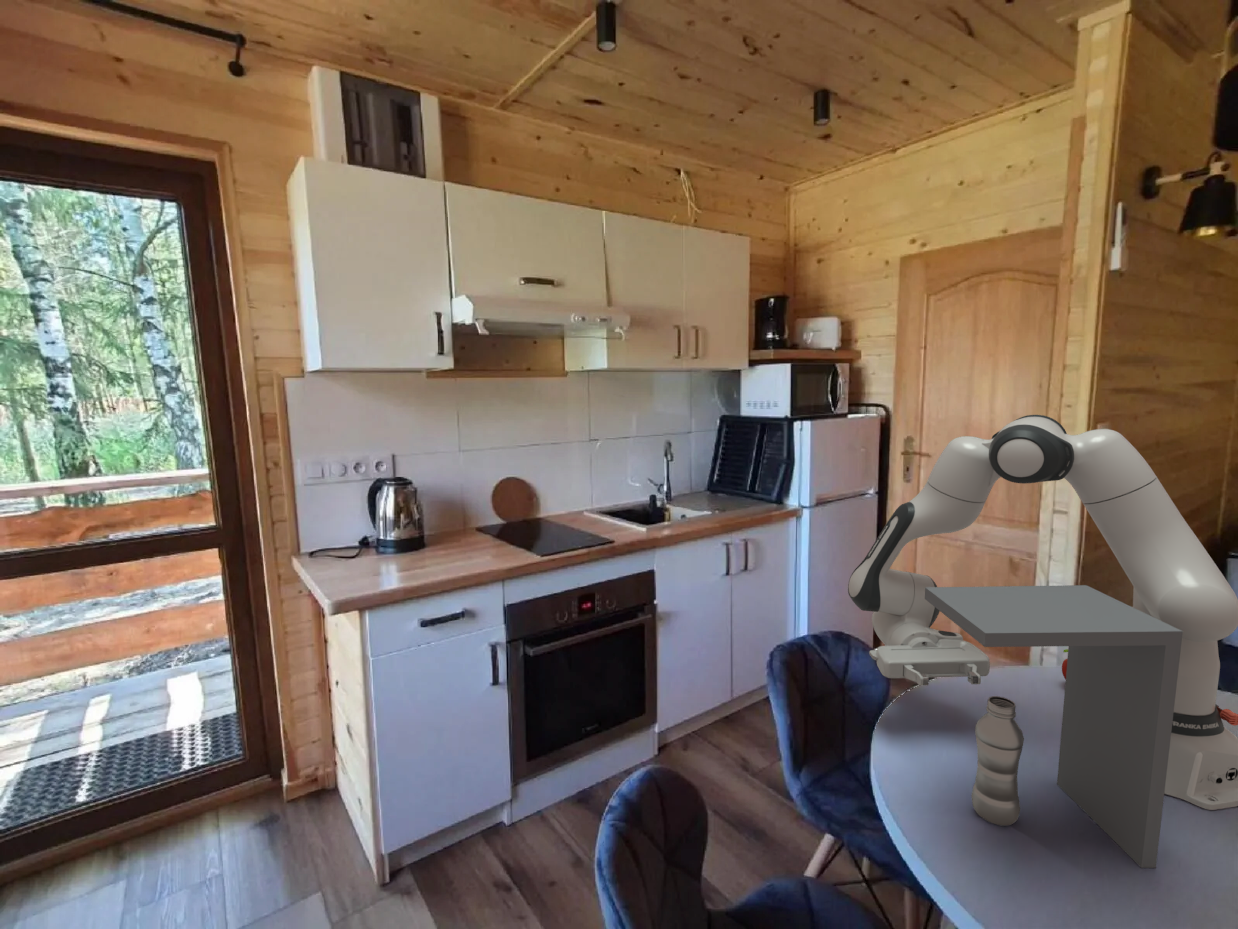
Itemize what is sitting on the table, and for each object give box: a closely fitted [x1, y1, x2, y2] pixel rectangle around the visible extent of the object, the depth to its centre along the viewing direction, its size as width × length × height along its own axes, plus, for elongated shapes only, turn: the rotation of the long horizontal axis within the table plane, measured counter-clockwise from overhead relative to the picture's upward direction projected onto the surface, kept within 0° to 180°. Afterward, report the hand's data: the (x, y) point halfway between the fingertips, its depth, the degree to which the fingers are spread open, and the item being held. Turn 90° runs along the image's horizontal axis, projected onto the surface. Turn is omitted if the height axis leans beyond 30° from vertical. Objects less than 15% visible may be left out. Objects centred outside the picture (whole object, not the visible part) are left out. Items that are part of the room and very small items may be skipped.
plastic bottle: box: [970, 695, 1025, 827], centre depth 96 cm, size 6×7×20 cm
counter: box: [925, 584, 1183, 869], centre depth 94 cm, size 26×18×36 cm
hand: (950, 681), depth 111 cm, fingers open, 8 cm apart
